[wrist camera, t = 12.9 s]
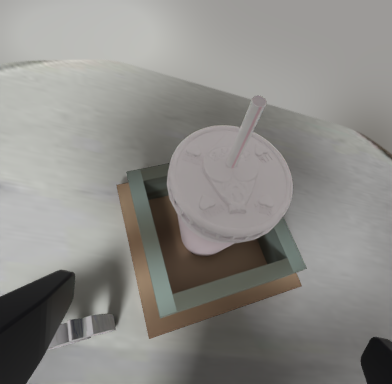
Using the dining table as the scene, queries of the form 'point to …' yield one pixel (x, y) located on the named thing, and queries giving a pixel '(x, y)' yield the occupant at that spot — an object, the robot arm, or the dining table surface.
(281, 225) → the dock
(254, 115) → the smoothie
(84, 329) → the caliper
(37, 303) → the robot arm
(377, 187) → the dining table surface
